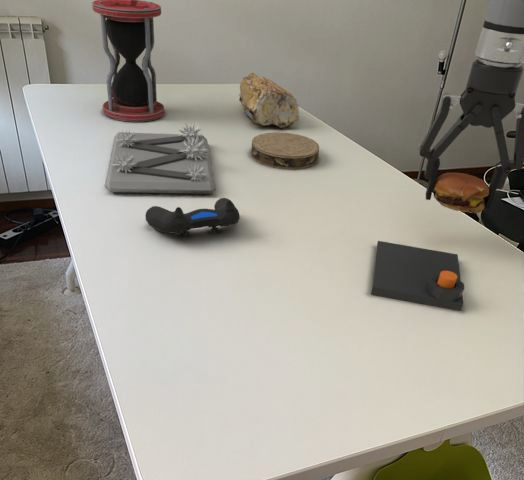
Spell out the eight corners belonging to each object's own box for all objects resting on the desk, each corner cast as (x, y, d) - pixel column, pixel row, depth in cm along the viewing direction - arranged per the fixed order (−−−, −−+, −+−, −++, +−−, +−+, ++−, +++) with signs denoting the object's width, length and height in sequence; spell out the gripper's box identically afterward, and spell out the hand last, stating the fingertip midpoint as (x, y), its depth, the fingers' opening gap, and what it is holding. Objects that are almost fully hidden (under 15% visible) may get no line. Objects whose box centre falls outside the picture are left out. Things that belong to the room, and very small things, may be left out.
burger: (445, 187, 103) (452, 163, 100) (492, 204, 98) (501, 179, 95) (420, 202, 97) (426, 177, 94) (469, 221, 92) (478, 194, 89)
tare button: (453, 281, 86) (457, 272, 85) (454, 290, 84) (458, 280, 83) (436, 278, 87) (440, 269, 85) (437, 287, 85) (440, 277, 83)
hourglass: (177, 115, 149) (175, 7, 133) (129, 126, 139) (120, 11, 123) (138, 100, 156) (132, -4, 140) (90, 110, 146) (77, -1, 131)
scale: (455, 261, 97) (460, 246, 95) (461, 311, 85) (467, 295, 83) (376, 247, 99) (379, 232, 97) (370, 295, 86) (374, 278, 84)
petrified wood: (231, 106, 157) (240, 68, 152) (273, 116, 162) (283, 80, 157) (250, 126, 143) (260, 85, 137) (295, 136, 148) (307, 97, 142)
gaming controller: (147, 241, 99) (161, 237, 90) (141, 208, 98) (154, 201, 89) (233, 228, 105) (253, 223, 96) (228, 198, 104) (248, 190, 95)
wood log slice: (305, 174, 123) (307, 161, 121) (240, 159, 127) (241, 146, 125) (325, 153, 135) (327, 140, 133) (265, 140, 138) (266, 128, 137)
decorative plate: (115, 141, 129) (112, 110, 125) (206, 144, 133) (207, 113, 128) (105, 195, 107) (101, 158, 102) (215, 197, 110) (216, 161, 106)
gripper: (425, 58, 82) (393, 200, 96) (581, 76, 79) (524, 219, 93) (425, 48, 88) (394, 184, 102) (570, 65, 85) (518, 202, 99)
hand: (457, 201), depth 98 cm, fingers closed on burger, 9 cm apart
